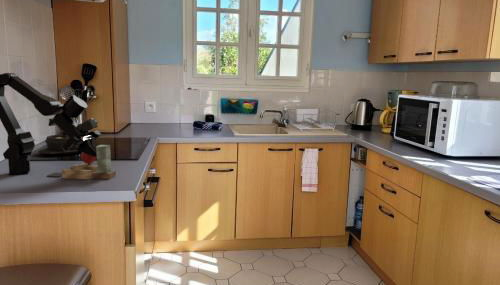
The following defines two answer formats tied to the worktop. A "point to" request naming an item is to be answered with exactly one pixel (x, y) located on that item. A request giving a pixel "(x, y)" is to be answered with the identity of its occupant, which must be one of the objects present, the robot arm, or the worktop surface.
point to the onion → (87, 158)
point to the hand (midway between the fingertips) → (98, 156)
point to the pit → (55, 175)
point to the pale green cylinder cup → (104, 163)
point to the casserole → (57, 145)
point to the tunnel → (79, 171)
